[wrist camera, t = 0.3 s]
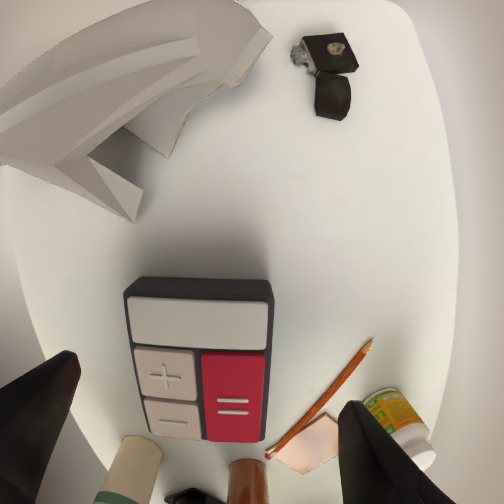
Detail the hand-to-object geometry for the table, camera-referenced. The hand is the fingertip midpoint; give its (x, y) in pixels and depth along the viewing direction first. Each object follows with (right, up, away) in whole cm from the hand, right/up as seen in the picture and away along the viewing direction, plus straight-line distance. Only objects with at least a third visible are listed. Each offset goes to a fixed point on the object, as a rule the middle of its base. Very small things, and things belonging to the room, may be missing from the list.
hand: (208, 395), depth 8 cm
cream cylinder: (-11, -19, +19) cm, 29 cm away
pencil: (+8, -11, +18) cm, 23 cm away
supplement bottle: (+15, -12, +18) cm, 27 cm away
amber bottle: (+1, -21, +19) cm, 28 cm away
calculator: (-3, -5, +17) cm, 18 cm away
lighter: (+10, +20, +12) cm, 25 cm away
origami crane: (+3, +12, +6) cm, 14 cm away
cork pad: (+8, -17, +19) cm, 27 cm away
